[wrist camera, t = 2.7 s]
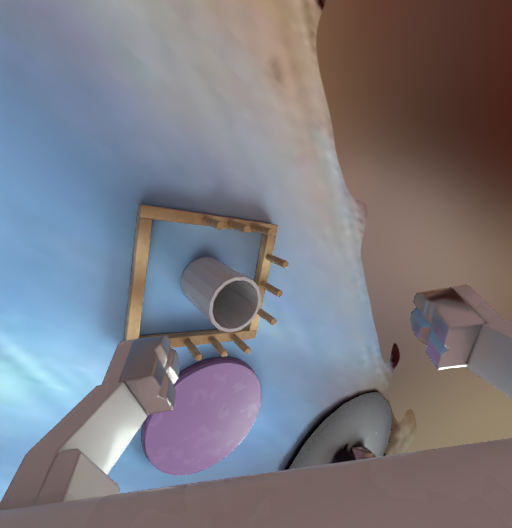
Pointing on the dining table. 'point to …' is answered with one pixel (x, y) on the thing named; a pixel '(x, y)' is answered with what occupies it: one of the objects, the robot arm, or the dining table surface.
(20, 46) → the dining table surface
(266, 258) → the drying rack
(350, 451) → the grey tray with blocks
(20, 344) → the dining table surface
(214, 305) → the steel cup
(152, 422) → the purple disc candle holder
